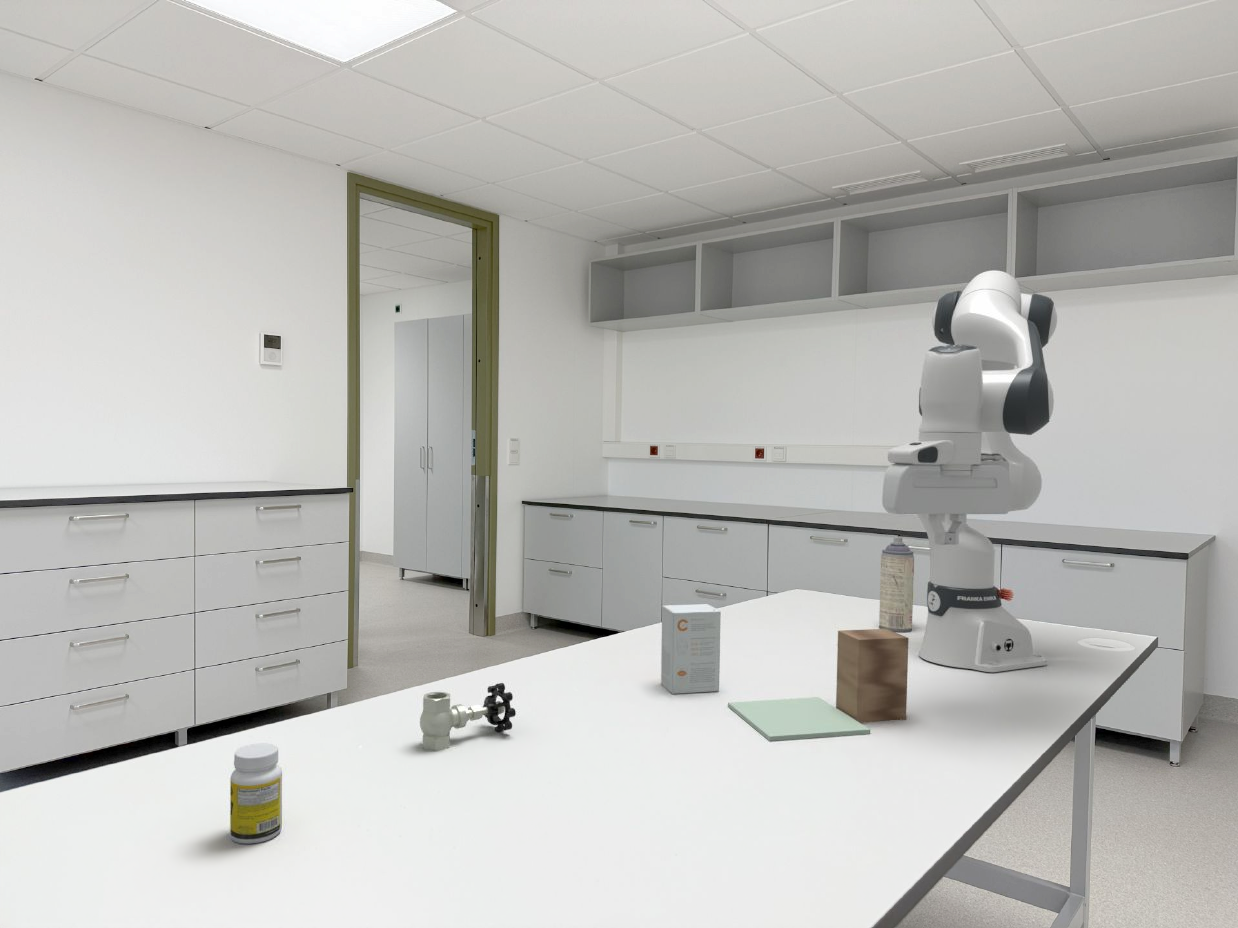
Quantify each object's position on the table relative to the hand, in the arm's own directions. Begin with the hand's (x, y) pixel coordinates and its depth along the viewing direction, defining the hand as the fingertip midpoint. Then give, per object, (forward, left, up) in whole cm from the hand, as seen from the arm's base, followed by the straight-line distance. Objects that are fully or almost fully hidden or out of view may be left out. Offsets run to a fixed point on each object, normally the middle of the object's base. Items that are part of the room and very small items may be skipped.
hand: (946, 544), depth 128 cm
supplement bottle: (+93, +22, -25) cm, 99 cm away
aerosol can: (-25, -52, -25) cm, 63 cm away
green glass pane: (+24, 0, -25) cm, 35 cm away
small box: (+34, -18, -25) cm, 46 cm away
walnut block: (+12, 0, -25) cm, 28 cm away
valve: (+71, -1, -25) cm, 76 cm away
